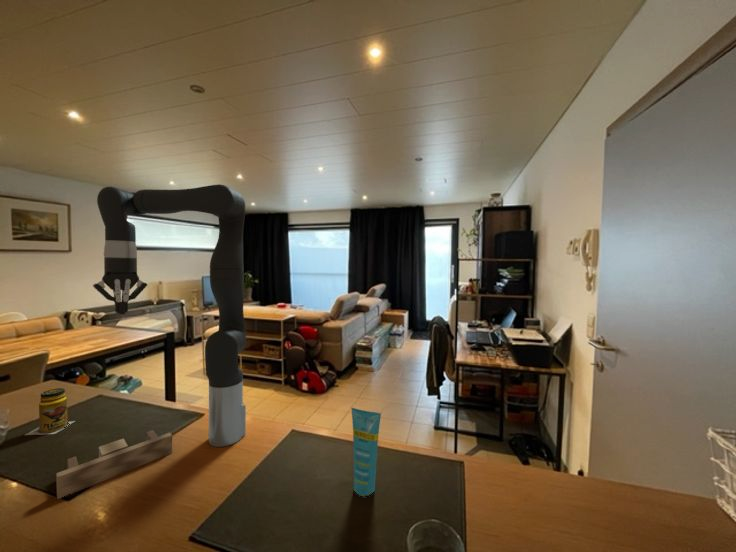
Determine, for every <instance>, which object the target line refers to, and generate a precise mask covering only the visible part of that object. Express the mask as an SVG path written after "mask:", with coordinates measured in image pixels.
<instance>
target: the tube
mask: <svg viewBox="0 0 736 552" xmlns="http://www.w3.org/2000/svg"><path fill="white" fill-rule="evenodd" d="M381 414H382V413H381V412H378V411H369V410H364V409H359V408H356V407H351V420H352V421H351V422H352V438H353V439H352V440H353V490H354V491H355V492H356V493H357V494H359V495H361V496H365V495H369V494H371V493H373V492H374V493H375V489H376V473H377V456H378V443H379V433H380V425H381V424H380V423H381V418H382V416H381ZM354 491H353V492H354ZM355 492H354V493H355ZM356 493H355V494H356ZM374 493H373V494H374ZM357 494H356V495H357Z"/></svg>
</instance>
